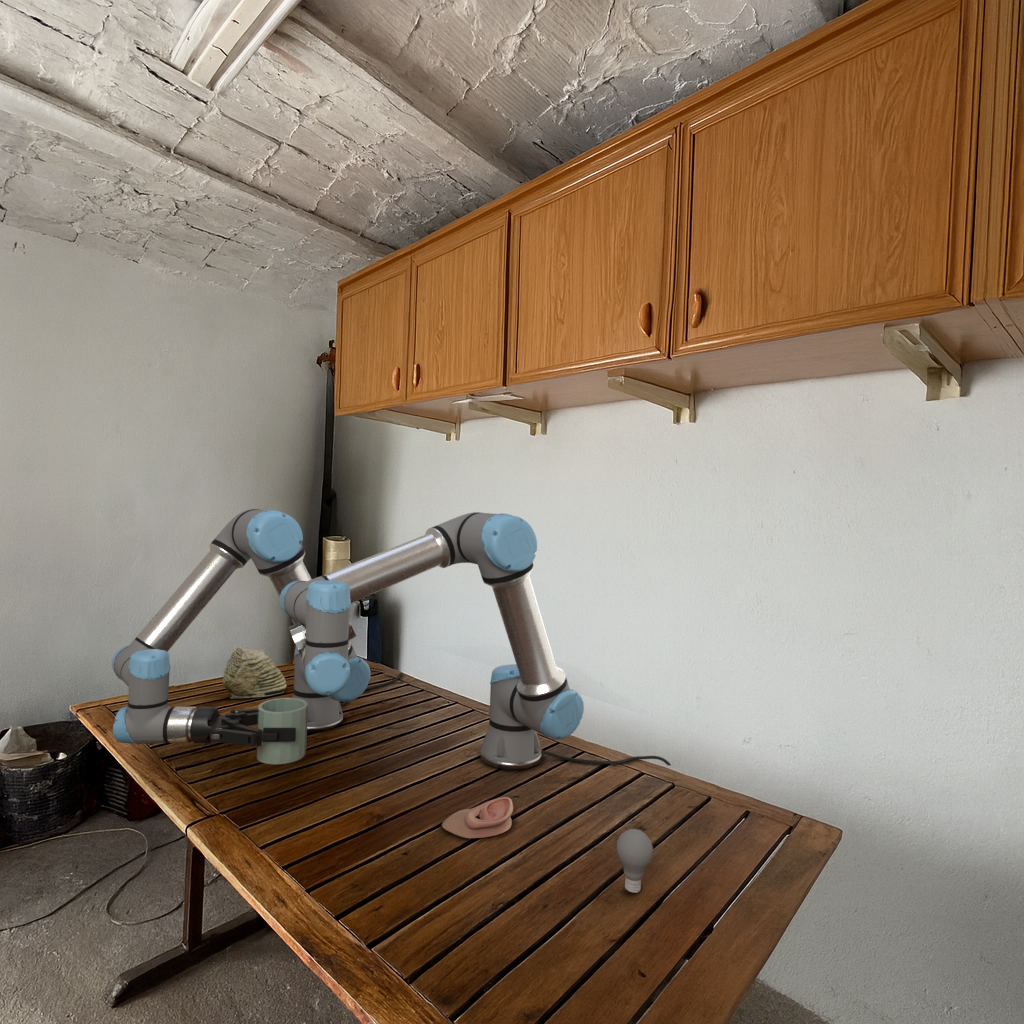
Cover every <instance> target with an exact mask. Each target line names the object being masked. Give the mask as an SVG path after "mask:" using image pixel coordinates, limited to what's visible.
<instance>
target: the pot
mask: <svg viewBox="0 0 1024 1024" xmlns="http://www.w3.org/2000/svg"><path fill="white" fill-rule="evenodd" d="M257 708H258V716H257V725H256V728H257V729H261V730H262V732H263V729H264V728H296V740H295V742H263V741H262V746H259V747H256V746H255V755H256V756H255V757H256V760H257V761H258V762H260V763H263V764H266V765H286V764H290V763H294V762H297V761H299V760H301V759H303V758H304V757H305V755H306V754H307V740H308V732H307V718H308V703H307V702H306V701H305V700H302V699H298V698H293V697H278V698H272V699H267V700H264V701H263V702H261V703H259V704H258V705H257Z"/></svg>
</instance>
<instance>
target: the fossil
mask: <svg viewBox="0 0 1024 1024" xmlns="http://www.w3.org/2000/svg"><path fill="white" fill-rule="evenodd" d="M222 676H223V677H222V685H223V687H224V688H225V690H226V691H228V693H229V698H230V699H250V698H264V697H271V696H275V695H281V694H284V693H285V691H286V689H287V687H288V686H287V680H286V678H285V676H284V674H283V673H282V672H281V669H279V668H278V667H277V665H276V663H275V662H274V660H273V659H272V658H271V657H270V656H269V655H268V654H267V653H266V652H265V650H264V649H263V648H260V647H258V648H251V647H247V646H246V647H245V646H238V647H237V648H236V649H235V650H233V651H232V653H231V656H230V657H229V659H228V660H227V663H226V666H225V668H224V671H223V675H222Z"/></svg>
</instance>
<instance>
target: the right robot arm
mask: <svg viewBox="0 0 1024 1024" xmlns="http://www.w3.org/2000/svg"><path fill="white" fill-rule="evenodd" d="M536 552H538V540H537V535H536V533H535V531H534V528H533V527H532V525H530V523H529V522H527V520H525V519H523V518H521V517H520V516H516V515H513V514H510V513H489V512H480V511H479V512H478V511H476V512H475V511H473V512H470V513H469V512H468V513H465V514H461V515H458V516H456V517H453V518H452V519H449V520H446V521H444V522H442V523H439V524H436V525H435V526H432V527H430V528H428V529H427V530H425V534H424V535H421V536H419V537H416V538H414V539H411V540H409V541H406V542H404V543H401V544H399V545H396V546H393V547H391V548H388V549H386V550H384V551H380V552H379V553H376V554H373V555H371V556H368V557H365V558H363V559H361V560H358V561H355V562H353V563H350V564H348V565H345V566H343V567H340V568H338V569H336V570H333V571H330V572H328V573H325V574H323V575H320V576H317V577H314V578H311V579H312V580H309V581H295V582H292V583H290V584H288V585H287V586H286V587H285V588H284V589H283V590H282V592H281V594H280V597H279V607H280V609H281V610H282V612H283V613H284V614H285V615H286V616H287V617H288V618H289V619H291V620H292V619H293V620H296V621H298V622H300V623H301V625H303V627H304V628H305V629H306V633H305V636H306V641H305V642H304V644H303V647H302V651H301V654H302V662H303V667H304V670H305V680H306V682H307V683H308V685H309V687H310V688H311V689H312V690H313V691H314V692H316V693H318V694H320V695H332V694H335V693H337V692H339V691H341V690H342V689H343V688H344V687H345V686H346V684H347V683H348V680H349V677H350V665H349V664H348V663H349V662H348V646H349V642H348V635H349V620H350V612H351V606H352V604H353V603H355V602H357V601H359V600H362V599H364V598H367V597H368V596H371V595H373V594H376V593H378V592H380V591H383V590H385V589H387V588H390V587H392V586H395V585H397V584H399V583H402V582H404V581H406V580H409V579H411V578H414V577H416V576H418V575H420V574H423V573H425V572H427V571H430V570H433V569H434V568H437V567H439V568H441V569H445V568H446V569H447V568H448V567H451V566H454V565H457V564H474V565H477V566H478V570H479V573H480V576H481V579H482V582H483V584H485V585H487V586H489V587H491V588H492V591H493V594H494V598H495V600H496V604H497V608H498V611H499V614H500V616H501V620H502V623H503V627H504V630H505V632H506V636H507V639H508V642H509V646H510V648H511V651H512V655H513V659H514V661H515V663H513V664H504V665H503V664H502V665H499V666H497V667H495V668H493V669H492V671H491V676H490V682H489V685H490V689H489V690H490V693H489V722H488V728H487V731H486V733H485V734H484V737H483V741H482V744H481V747H480V759H481V761H482V762H483V763H484V764H486V765H488V766H490V767H491V768H496V769H501V770H506V771H508V770H509V771H521V770H527V769H531V768H534V767H536V766H538V765H539V764H540V763H541V762H542V755H543V754H544V755H547V756H550V757H553V758H556V759H559V760H564V761H569V762H576V763H586V764H593V765H594V764H595V765H596V764H597V765H620V764H625V763H628V762H631V761H635V760H658V761H662V762H663V763H664V764H666V765H667V766H672V764H671V763H670V762H669V761H668V760H667V759H665V757H662V756H659V755H638V756H637V755H636V756H630V757H627V758H624V759H620V760H594V759H583V758H574V757H569V756H563V755H560V754H556V753H554V752H551V751H547V750H543V749H542V747H541V744H540V739H539V736H538V734H539V735H542V736H543V737H545V738H550V739H552V740H554V741H555V740H556V741H560V740H564V739H566V738H568V737H570V736H571V735H572V734H573V733H574V732H575V731H576V730H577V729H578V727H579V726H580V724H581V720H582V719H583V715H584V711H585V709H584V708H585V704H584V703H585V702H584V699H583V697H582V695H581V694H580V693H579V692H578V691H577V690H575V689H571V688H570V685H569V682H568V678H567V675H566V672H565V671H564V669H562V668H561V667H559V666H557V664H556V661H555V658H554V654H553V651H552V647H551V643H550V641H549V638H548V634H547V631H546V627H545V624H544V620H543V617H542V614H541V610H540V607H539V603H538V600H537V597H536V593H535V589H534V586H533V582H532V580H531V573H532V572H533V571H534V568H535V567H534V561H535V559H536V556H537V555H536Z"/></svg>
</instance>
